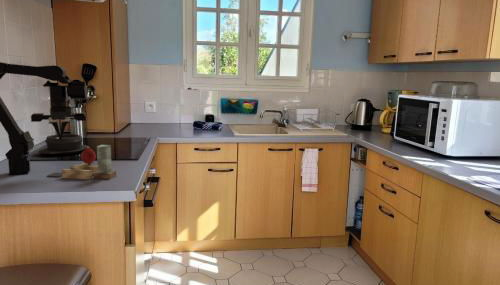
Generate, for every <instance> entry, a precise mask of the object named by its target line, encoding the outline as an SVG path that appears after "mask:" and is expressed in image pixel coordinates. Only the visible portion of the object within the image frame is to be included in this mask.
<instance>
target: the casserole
mask: <svg viewBox="0 0 500 285" xmlns="http://www.w3.org/2000/svg"><path fill="white" fill-rule="evenodd" d="M45 138H46V139H45V140H44V143H45V144H46V148H43V149H40V150H38V151H37V153H40V154H45V155H59V156H60V155H64V156H65V155H73V154H77V153H78V152H80V151H84V150H85V149H86V147H89V148H90V146H89V145H86V144H82V142H83V140H84V139H83V138H82V137H81V135H79V134H71V133H67V134H64V133H63V136H62V139H59V137H58V135H57V134H52V135H48V136H46V137H45Z"/></svg>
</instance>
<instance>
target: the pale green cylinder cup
mask: <svg viewBox="0 0 500 285" xmlns="http://www.w3.org/2000/svg"><path fill="white" fill-rule="evenodd" d="M96 158H97V159H96V160H97V166H98V171H97V172H94V173H93V174H92V179H98V180H99V179H101V180H103V179H104V180H112V179H114V178H115V177H117V170H112V167H113V166H112V145H111V144H100V145H97V146H96Z"/></svg>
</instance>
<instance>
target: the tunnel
mask: <svg viewBox="0 0 500 285" xmlns="http://www.w3.org/2000/svg"><path fill="white" fill-rule="evenodd" d="M97 171H98V165H88V163H85V162H82V163H80V164H72V167H70V168H62V169H61V173H62V179H74V180H76V179H77V180H93V173H94V172H97Z"/></svg>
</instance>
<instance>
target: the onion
mask: <svg viewBox="0 0 500 285" xmlns="http://www.w3.org/2000/svg"><path fill="white" fill-rule="evenodd" d="M80 158H81V161H82V163H88V166H91V165H92V164H93V163H94V162H95V161H96V160H97V159H96V158H97V153H96V152H95V151H94V150H93V148H90V146H89V147H86V149H84V150H82V152H81V155H80Z"/></svg>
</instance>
